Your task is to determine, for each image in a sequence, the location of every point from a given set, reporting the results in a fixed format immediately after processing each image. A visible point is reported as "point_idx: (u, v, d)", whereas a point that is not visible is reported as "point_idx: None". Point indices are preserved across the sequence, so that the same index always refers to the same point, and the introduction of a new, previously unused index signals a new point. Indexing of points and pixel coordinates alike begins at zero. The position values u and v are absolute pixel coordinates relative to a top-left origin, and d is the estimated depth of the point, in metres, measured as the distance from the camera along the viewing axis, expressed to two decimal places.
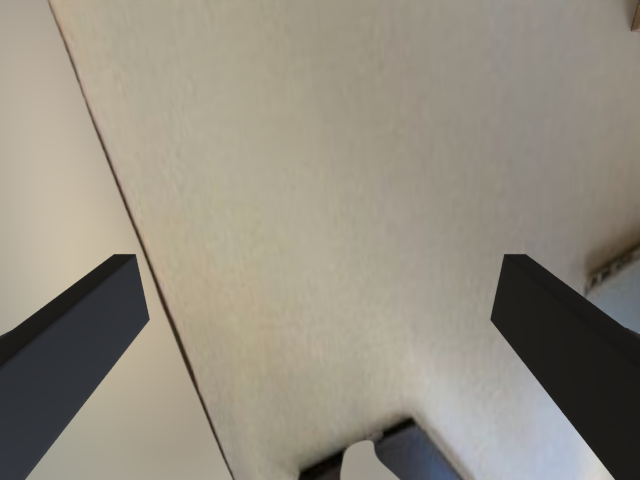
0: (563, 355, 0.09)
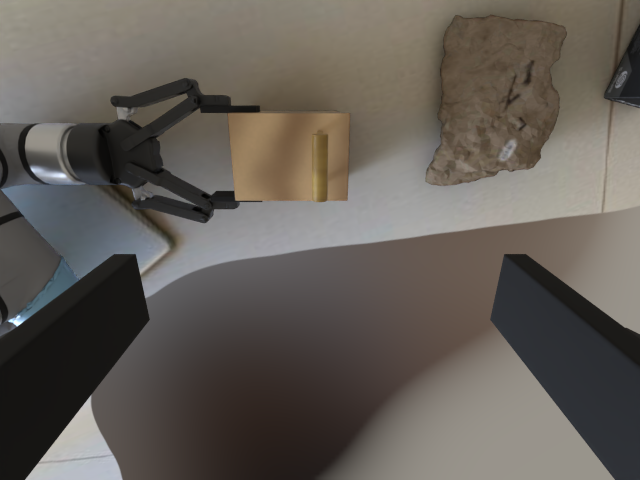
0: (563, 355, 0.09)
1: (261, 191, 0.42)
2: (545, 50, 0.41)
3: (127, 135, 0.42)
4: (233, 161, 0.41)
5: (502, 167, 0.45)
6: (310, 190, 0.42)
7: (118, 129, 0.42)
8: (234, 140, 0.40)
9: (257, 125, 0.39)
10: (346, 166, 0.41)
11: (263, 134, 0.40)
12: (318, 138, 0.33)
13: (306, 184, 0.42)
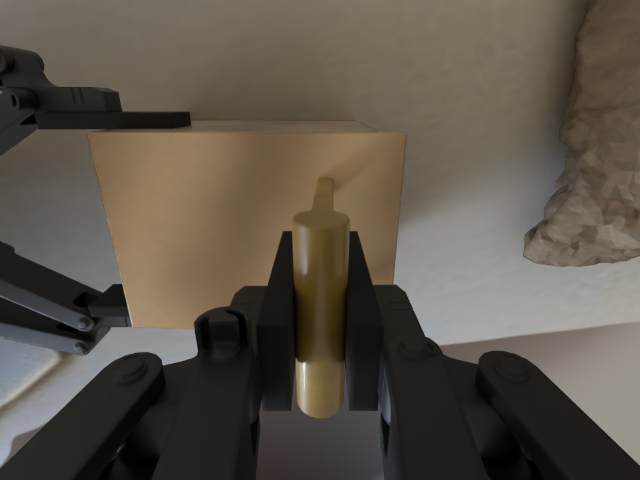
0: None
1: (188, 311, 0.18)
2: None
3: None
4: (116, 246, 0.17)
5: None
6: None
7: None
8: (113, 198, 0.16)
9: (166, 163, 0.15)
10: (390, 261, 0.17)
11: (182, 186, 0.16)
12: (314, 238, 0.09)
13: None
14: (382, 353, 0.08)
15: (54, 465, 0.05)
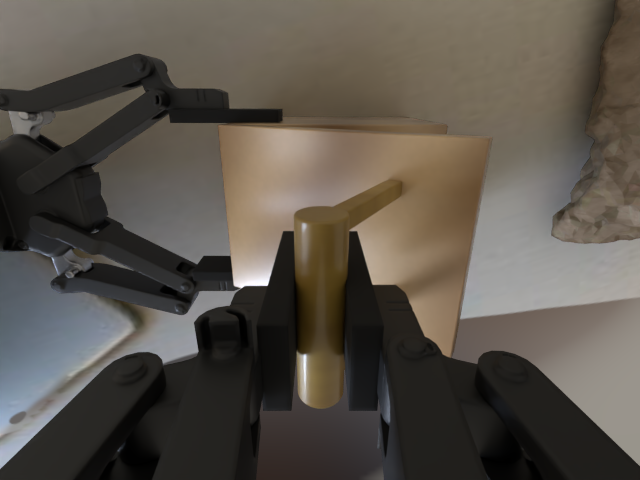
0: None
1: None
2: None
3: (31, 164, 0.22)
4: (228, 217, 0.21)
5: None
6: None
7: (13, 153, 0.22)
8: (229, 179, 0.20)
9: (265, 153, 0.18)
10: (458, 281, 0.15)
11: (275, 174, 0.18)
12: (302, 230, 0.09)
13: None
14: (382, 353, 0.08)
15: (55, 465, 0.05)
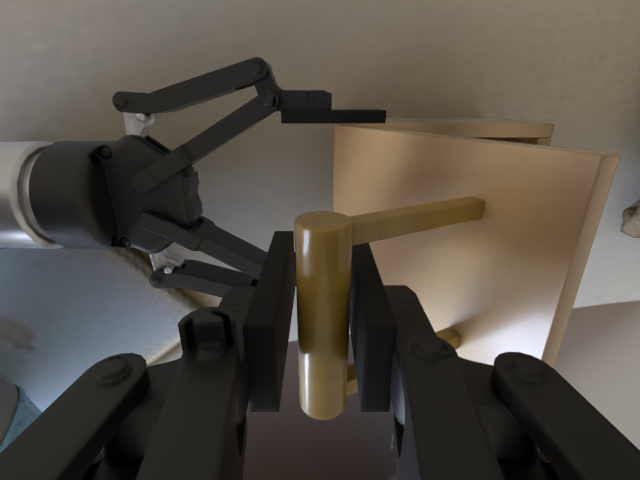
0: (353, 307, 0.11)
1: None
2: None
3: (143, 164, 0.23)
4: None
5: None
6: None
7: (126, 153, 0.23)
8: (337, 177, 0.21)
9: (365, 155, 0.18)
10: (538, 342, 0.11)
11: (370, 177, 0.18)
12: (296, 233, 0.09)
13: None
14: (395, 354, 0.08)
15: (36, 467, 0.05)
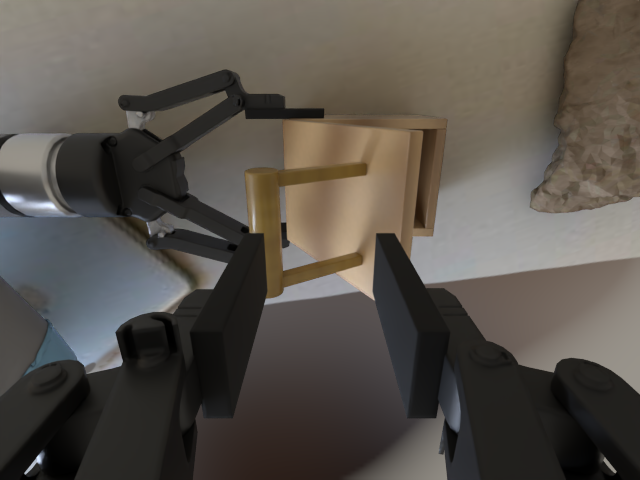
0: (390, 311, 0.11)
1: (304, 239, 0.28)
2: None
3: (141, 150, 0.30)
4: (285, 187, 0.29)
5: None
6: None
7: (128, 142, 0.30)
8: (286, 158, 0.28)
9: (302, 140, 0.25)
10: None
11: (307, 156, 0.25)
12: (245, 178, 0.16)
13: (344, 252, 0.23)
14: (448, 360, 0.08)
15: None
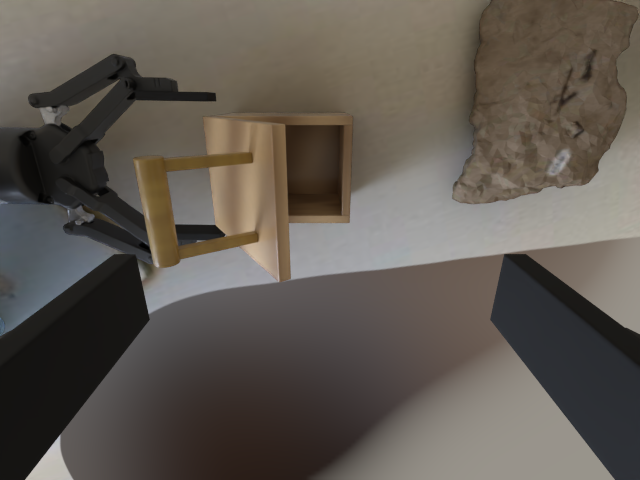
0: (563, 355, 0.09)
1: (225, 223, 0.31)
2: (612, 36, 0.32)
3: (59, 142, 0.33)
4: (210, 177, 0.32)
5: (551, 183, 0.36)
6: (251, 243, 0.26)
7: (46, 136, 0.33)
8: (208, 151, 0.31)
9: (216, 134, 0.28)
10: (274, 222, 0.22)
11: (219, 148, 0.28)
12: (134, 163, 0.20)
13: None
14: None
15: None
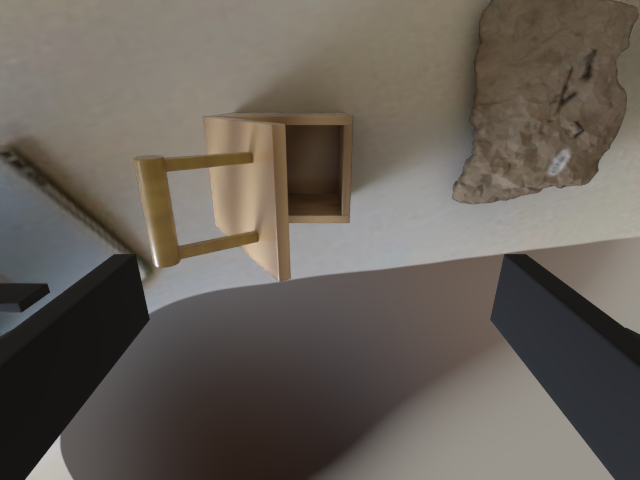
0: (563, 355, 0.09)
1: (225, 223, 0.31)
2: (612, 36, 0.32)
3: None
4: (210, 177, 0.32)
5: (551, 183, 0.36)
6: (251, 243, 0.26)
7: None
8: (208, 151, 0.31)
9: (216, 134, 0.28)
10: (274, 222, 0.22)
11: (219, 148, 0.28)
12: (134, 163, 0.20)
13: None
14: None
15: None
